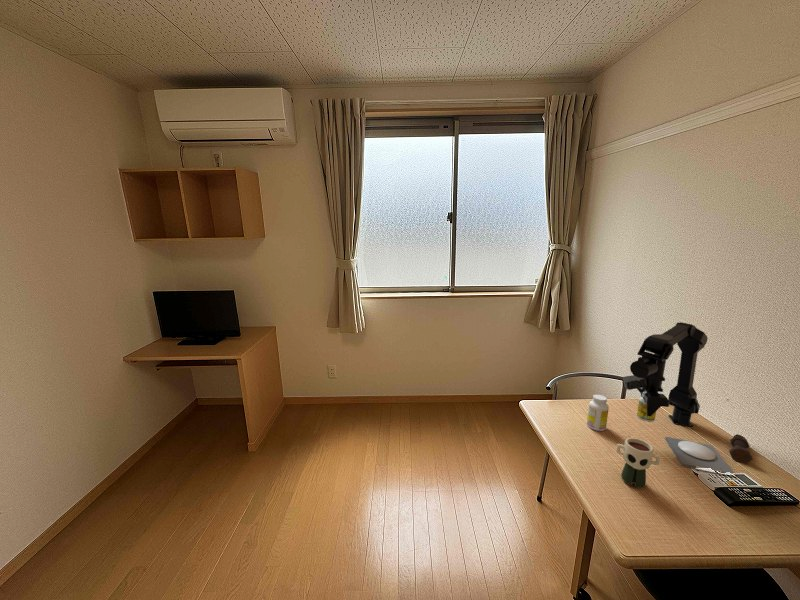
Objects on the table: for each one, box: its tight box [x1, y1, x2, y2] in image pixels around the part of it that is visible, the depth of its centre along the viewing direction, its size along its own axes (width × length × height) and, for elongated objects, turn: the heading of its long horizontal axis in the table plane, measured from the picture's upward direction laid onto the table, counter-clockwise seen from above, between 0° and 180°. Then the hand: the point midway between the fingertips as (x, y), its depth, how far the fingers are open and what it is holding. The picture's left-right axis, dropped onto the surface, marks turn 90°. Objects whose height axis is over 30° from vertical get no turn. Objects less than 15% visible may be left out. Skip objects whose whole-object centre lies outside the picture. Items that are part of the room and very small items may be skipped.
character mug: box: [615, 437, 661, 488], centre depth 104 cm, size 11×7×13 cm, turn 57°
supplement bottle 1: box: [586, 394, 610, 432], centre depth 134 cm, size 7×7×13 cm
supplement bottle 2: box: [636, 392, 657, 423], centre depth 122 cm, size 5×5×10 cm
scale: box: [664, 436, 735, 473], centre depth 117 cm, size 17×14×2 cm
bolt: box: [728, 434, 754, 465], centre depth 120 cm, size 6×5×15 cm
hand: (646, 412), depth 123 cm, fingers closed on supplement bottle 2, 5 cm apart
